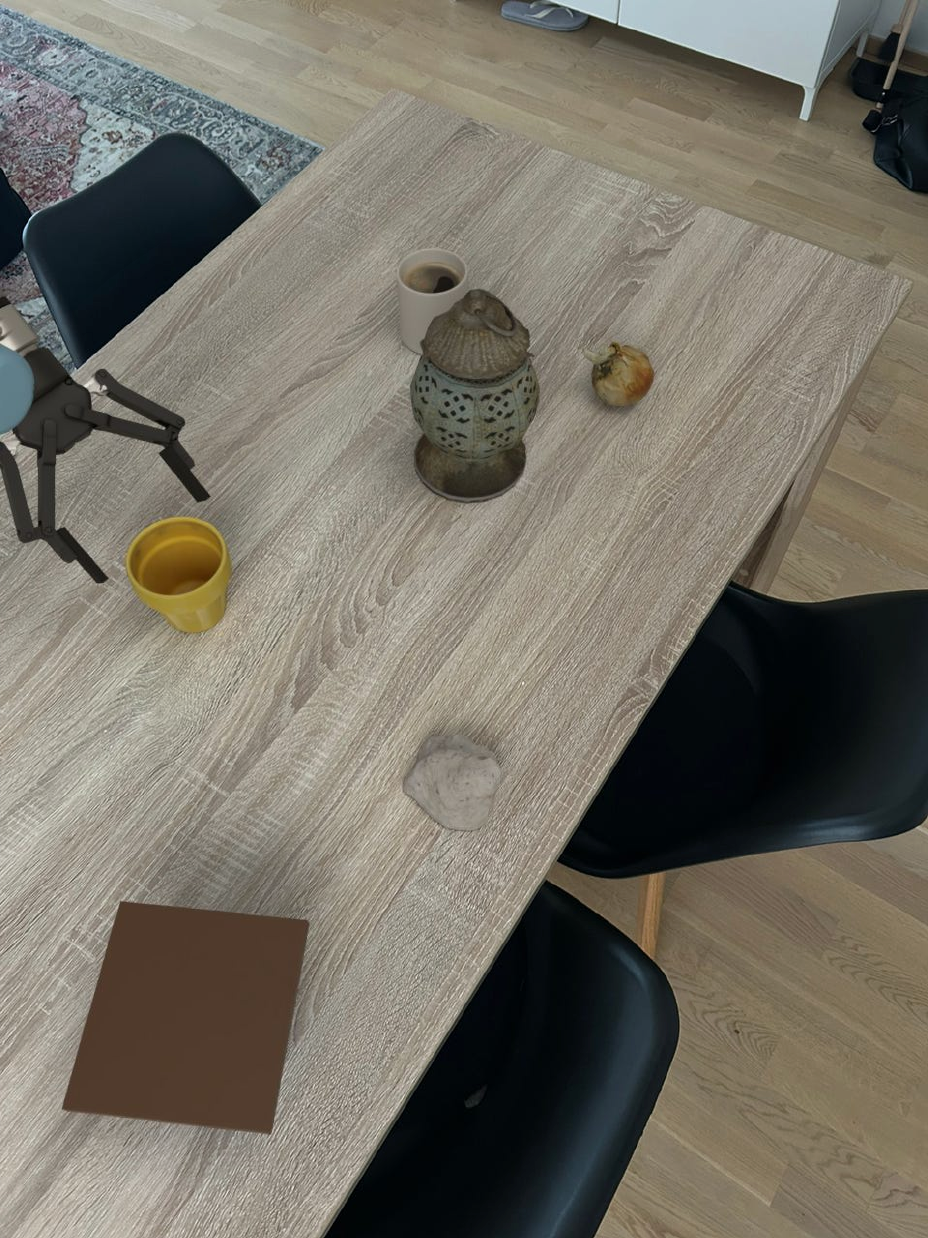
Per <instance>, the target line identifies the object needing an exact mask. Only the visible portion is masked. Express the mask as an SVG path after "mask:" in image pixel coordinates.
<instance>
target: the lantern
mask: <svg viewBox="0 0 928 1238" xmlns="http://www.w3.org/2000/svg"><path fill="white" fill-rule="evenodd" d="M530 338H531V333H530V330H529V328H526V326H524V324H523V323H522V322H521V321H520V319H518V318H517V317H515V315H514V313H513V311H512V310H511V309H510V307H508V306H507V304H506V303H505V302H504V301H502V300H501V299H500V298H499V297H498V296H496V295H495V294H493V293H491V292H490V291H488V290H486V289H483V288H475V289H471V290H468V292H467V293H466V295H465V296H464V297H463V298H462V299H460V300H458V301H457V302H455V304H454V305H453V306H452V307H451V308H450V309H449V311H447V312H445V313H443V314H440V315H438V316H436V317H434V319H433V320H432V322H431V324H430V325H429V327H428V329H427V332H426V335H425V338H424V339H423V340H421V341H420V346H421V349H422V351H423V354H422V355H421V354H420V356H419V360H418V362H417V365H416V368H415V370H414V373H413V376H412V378H411V381H410V384H409V393H410V394H409V395H410V403H411V404H410V405H411V409H412V415H413V420H414V421H415V422H416V424H417V425H418V427H419V428H420V430H421V431H422V433H423V434H422V435H421V437H420V438H419V439H418V440H417V442H416V446H415V449H414V452H413V461H414V471H415V473H416V475H417V477H418V478H419V480H420V482H421V484H422V485H423V486H425V487H426V489H428V490H429V491H430V492H431V493H432V494H434V495H436V496H438V497H441V498H443V499H445V500H448V501H451V502H456V503H462V504H475V503H485V502H488V501H491V500H494V499H497V498H499V497H502V496H503V495H505V494H506V493H508V492H509V491H510V490H511V489H513V488H514V487H516V485H517V484H518V482H519V480H520V479H521V478H522V477H523V474H524V471H525V467H526V462H527V454H526V453H527V452H526V443H524V441H523V438H524V436H525V434H526V433H527V431H528V429H529V427H530V426H531V425H532V424H531V423H532V422H533V420H534V419H535V416H536V413H537V410H538V408H539V405H540V396H541V395H540V394H541V393H540V392H541V391H540V390H541V389H540V388H541V387H540V383H539V379H538V376H537V373H536V369H535V368H534V365H533V363H532V360H531V358H535V356H536V355H535V354H534V353H533V352H529V351H528V350H529V348H530V346H531V341H530Z"/></svg>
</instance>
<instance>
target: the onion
mask: <svg viewBox="0 0 928 1238" xmlns="http://www.w3.org/2000/svg"><path fill="white" fill-rule="evenodd" d="M603 346H604V349H603V351H602V353H600V352H597V351H594V350H592V349H590V348H589V347H587V348H585V349H584V350H583V353H582V354H583V357H584V358H585V359H587V361H589V362H590V363H592V364H593V367H592V369H591V373H590V375H591V384H592V388H593V390H594V392H595V394H596V396H597V397H599V399H600V400H602V401H603V402H604V403H606V404H608V405H610V406H612V407H613V406H614V407H627V406H631V405H635V404H636V403H638V402H640V401H641V400H642V399H643V398H644V397H645V398H646V395H647V394H648V392H649V391H650V390H651V387H652V386H653V383H654V380H655V379H654V378H655V371H654V368H653V366H652V363H651V361H650V359H649V357H648V355H646V353H644V352H643V350H641V349H638V348H636V347H634V346H633V345H629V344H624V345H622V344H621V343H620V342H617V341H611V342H610V343H609V345H607V344H604V345H603Z"/></svg>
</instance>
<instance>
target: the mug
mask: <svg viewBox="0 0 928 1238" xmlns="http://www.w3.org/2000/svg"><path fill="white" fill-rule="evenodd" d="M468 268H469V267H468V265H467V263H466V261H465V260H464V259H463V257H461V256H460V255H459V254H458V253H456V252H454V251H451V250H448V249H445V248H441V247H426V248H422V249H417V250H414V251H412V252H410V253H408V254H407V255H405V256H404V257H403V258H402V259H401V260H400V261H399V263H398V264H397V267H396V270H395V278H396V289H397V290H396V291H397V302H398V316H399V327H400V337H401V340H402V343H404V345H405V346H406V347H407V348H408V349H409V350H410V351H412V352H414V353H415V354H418V355H420V356H421V355H422V354H423V351H422V349H421V346H420V341H421V340H423V339H424V338H425V335H426V332H427V329H428V327H429V325H430V324H431V322H432V320H433V319H434V317H436V316H438V315H440V314H443V313H445V312H447V311H449V309H450V308H451V307H452V306H453V305H454V304H455V302H457V301H458V300H460V299H462V298H463V297H464V296H465V295H466V293H467V292H469V269H468Z"/></svg>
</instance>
